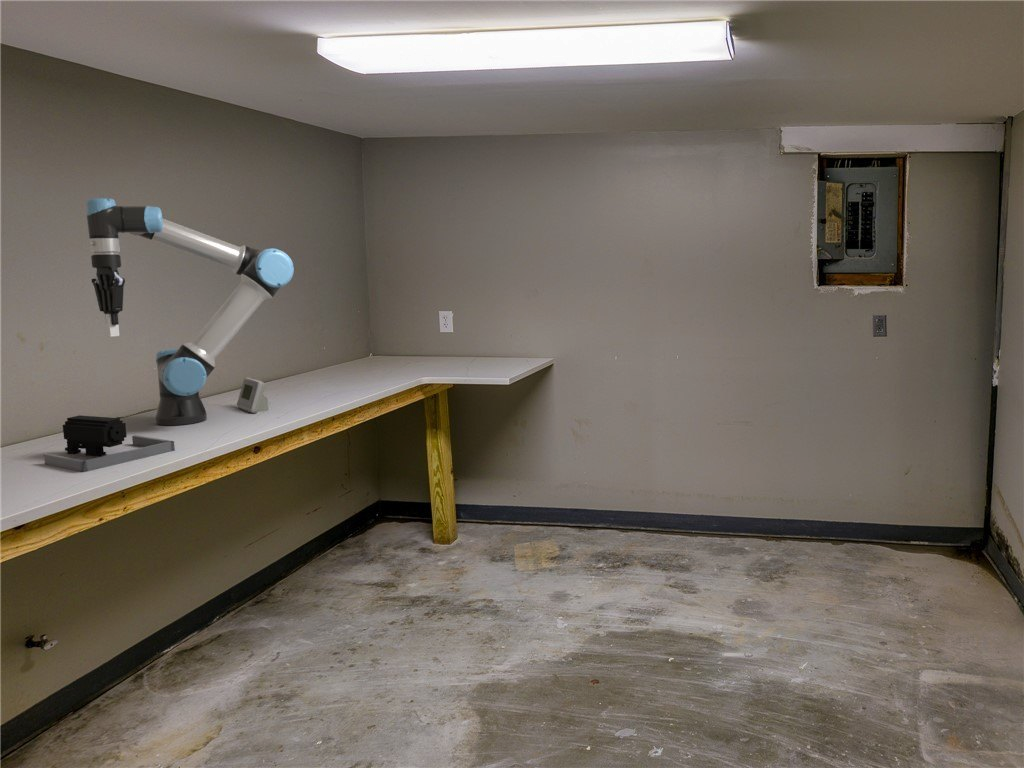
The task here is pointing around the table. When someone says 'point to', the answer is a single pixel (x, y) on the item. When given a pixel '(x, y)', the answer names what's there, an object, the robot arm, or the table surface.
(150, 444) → the grey u-shaped frame
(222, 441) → the table surface
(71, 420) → the security camera
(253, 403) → the digital clock
